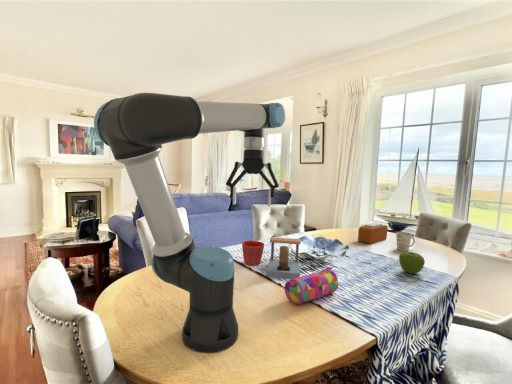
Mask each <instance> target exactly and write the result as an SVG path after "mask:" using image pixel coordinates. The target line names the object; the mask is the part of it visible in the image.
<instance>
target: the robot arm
mask: <svg viewBox="0 0 512 384" xmlns="http://www.w3.org/2000/svg"><path fill="white" fill-rule="evenodd" d="M285 122H286V110H285V107H284V105H283V104H281V102H280V103H279V102H270V103H249V102H247V103H246V102H218V101H197V100H196V99H195V98H193V97H191V96H184V95H175V94H174V95H173V94H167V93H165V94H164V93H156V92H139V93H135V94H131V95H127V96H123V97H116V98H112V99H110V100H109V101H107V102H105V103H103V104H102V105H100V107H99V108H98V109H97V110H96V113H95V115H94V118H93V129H94V131H95V134H96V136H97V138H99V140H100V141H101V142H102V143H103V144H105V146H108V147H109V148H110V151H111V153H112V156H113V158H114V160H115V161H116V162H118V163H120V164H123V166H124V168H125V170H126V172H127V175H128V177H129V181H130V183H131V185H132V188H133V190H134V193H135V195H136V197H137V201H138V203H139V206H140V208H141V210H142V213H143V216H144V218H145V220H146V224H147V226H148V228H149V231H150V233H151V237H152V239H153V241H154V245H153V246H152V249H151V252H152V257H151V261H150V262H151V263H150V264H151V268H152V271H153V272H154V275H155V276H157V277H158V278H159V279H160V280H162V281H163V282H165V283H166V284H170V285H173V286H175V287H176V288H179V289H181V290H184V291H186V292H188V293H189V309H188V312H187V315H186V318H185V321H184V323H183V326H182V335H181V336H182V337H181V339H182V342H183V344H184V345H185V346H186V347H187V348H188V349H190V350H192V351H195V352H199V353H205V354H206V353H208V354H209V353H216V352H220V351H224V350H227V349H228V348H230V347H231V346H233V345H234V344H235V343H236V342H237V340H238V338H239V323H238V321H237V320H238V319H237V318H236V317H237V316H236V314H235V310H234V307H233V306H234V288H235V287H234V285H235V282H234V281H235V271H236V270H235V259H234V256H233V255H232V254H231V253H230V252H229V251H228V250H226V249H224V248H222V247H218V246H211V245H204V246H202V245H201V246H199V247H196V245H195V241H194V239H193V236H192V234H191V233H188V232H185V229H184V226H183V223H182V220H181V218H180V214H179V212H178V208H177V205H176V203H175V200H174V197H173V194H172V191H171V188H170V186H169V182H168V180H167V176H166V174H165V171H164V168H163V167H164V166H163V165H162V161H161V159H160V158H161V157H160V156H159V155H160V152H161V151H162V149H163V145H165V144H168V143H174V142H177V141H183V140H189V139H190V140H191V139H195V138H197V137H198V136H199V135H200V134H210V133H222V132H223V133H224V132H225V133H226V132H237V131H238V132H243V148H244V150H243V161H242V162H240V161H235V162H234V166H233V168H232V171H231V173H230V175H229V177H228V179H227V180H226V183H225V185H226V186H228V187H229V188H230V196H232V205H233V206H234V205H236V204H237V187H236V185H237V184H238V183H239V182H240V181H241V180H242V178H243V177H244V176H246V174H248V175H252V174H253V175H259V176H261V178H262V179H263V180H264V182H265V183H266V184H267V185H268V187H269V188H268V193H267V194H268V195H267V197H268V201H267V207H271V201H272V198H274V196H275V189H278V188H279V187H280V184H279V182H278V180H277V178H276V176H275V173H274V171H273V169H272V168H273V167H272V163H271V162H267V163H265V162H264V150H263V149H264V148H265V147H264V145H265V130H266V129H275V128H280V127H282V126H283V125H284V124H285ZM241 167H242V168H243V170H242V171H241V173H240V174H239V175H238V176H237V177H236V178H235V179H234V177H235V176H236V175H237V173H238V170H239V169H240V168H241ZM264 168H265V169H267V170H268V172H269V176H270V177H271V179H272V181H273V183H272V181H271V180H269V178H268V177H267V175H266V174H265V172H264V171H263V169H264ZM233 180H234V181H233Z"/></svg>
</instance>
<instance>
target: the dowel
mask: <svg viewBox="0 0 512 384" xmlns="http://www.w3.org/2000/svg"><path fill="white" fill-rule="evenodd" d="M289 255H290V247H289V246H286V245H281V246H279V255H278V256H279V257H278V258H279V259H278V260H279V270H281V271H288V260H290V259H289V257H290V256H289Z"/></svg>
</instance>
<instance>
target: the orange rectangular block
mask: <svg viewBox="0 0 512 384" xmlns="http://www.w3.org/2000/svg"><path fill="white" fill-rule="evenodd" d="M357 233H358V234H357V241H358V242H359V243H362V244H363V243H364V244H367V245H373V244H376V243H380V242H384V241H386V240H387V237H388V226H387V225H386V224H382V223H379V222H372V223H368V224H364V225H362V226H359V228H358V232H357Z"/></svg>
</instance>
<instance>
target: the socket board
mask: <svg viewBox="0 0 512 384" xmlns="http://www.w3.org/2000/svg"><path fill="white" fill-rule="evenodd" d="M269 243H271V245H270V247H271V249H270V258H269V260H268V264H267V268H266V275H265V276H266V277H271V278H279V279H289V280H291V279H293V278H296V277H301V275H300V274H301V270H300V261H299V248H300V247H299V246H300V245H301V238H290V237H274V236H273V237H270V238H269ZM275 244H284V245H285V244H288V245H289V244H290V245H295V256H294V257H295V260H290V259H288V271H281V270H279V259H275V257H274V255H275V254H274V253H275Z"/></svg>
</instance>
